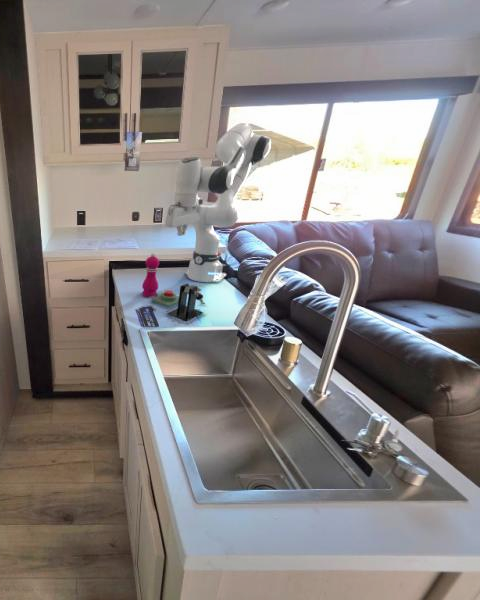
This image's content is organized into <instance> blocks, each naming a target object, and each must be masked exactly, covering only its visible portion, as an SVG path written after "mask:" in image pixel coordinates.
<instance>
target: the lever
mask: <svg viewBox="0 0 480 600" xmlns="http://www.w3.org/2000/svg"><path fill="white" fill-rule="evenodd" d="M189 289H190V287H187V286H186V287H185V289H184V292H185V293H187V295H189ZM203 298H204V294H203V293H202V292H199V293H197V296H196V301H201V299H202V300H203Z"/></svg>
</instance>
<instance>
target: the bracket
mask: <svg viewBox="0 0 480 600" xmlns="http://www.w3.org/2000/svg"><path fill="white" fill-rule="evenodd" d="M186 286H187V287H189V286H190V284H189V283H183V284H182V285H180V286H179V293H178V296H179V301H178V304H177V308H176V309H174V310H172V311H169V312H167V313H166V314H167V315H169V316H171V317H173V318H175V319H178V320H181V321H183V322H185V323H187V322H189V321H191V320H193V319H195V318H197V317H199V316H200V315H202V314H204V312H203V311H200V310H198V309H196V303H197V299H196V296H197V290H198V287H197V286H198V285H197V286H195V287H193V288H190V289H189V294H187V293H185V292H184V289H185V287H186ZM198 291H199V290H198Z"/></svg>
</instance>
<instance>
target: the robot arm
mask: <svg viewBox="0 0 480 600" xmlns="http://www.w3.org/2000/svg"><path fill="white" fill-rule="evenodd" d="M271 145H272V140H271V138H270V137H269V136H267V135H264V134H263V135H261V134H257V133H254V130H253V127H252V126H251V124H248V123H247V122H240V123H238V124H236V125H234V126H232V127H231V128H230V129H228V130H227V131H226V132H225V133H224V134H223V135H222V136H221V137H220V138H219V140H218V141H217V142H216V145H215V149H214V150H215V155H216V157H217V159H218V161H220V162H221V163H223V164H225V165H221V166H205V165H203V164H202V160H201V157H199V156H189V157H185V158H183V159H181V160H180V162H179V165H178V168H177V172H176V181H175V184H176V189H175V191H174V197H173V202H172V203H171V204H170V205H169V206H168V208H167V212H166V215H165V220H164V225H165V227H167V228H176V230H177V236H178V237H181V236H185V235H186V231H187V229H188V227H189V225H191V224H192V225H193V228H194V231H195V245H194V251H193V253H192V259H190V261H189V265H188V270H187V271H185V275H186V276H187V278H188V279H190V280H191V281H195V282H200V283H215V284H216V283H220V282H221V281H222V280H224V279H225V277H227V273H226V272H225V271H226V270H227V264H224V263H221V261H220V260H219V257H221V256H222V252H219V251H218V250H219V246H220V236H219V235H218V234H217V233H216V232H215V230H214V227H216V228H231V227H233V226H234V225H235V224H236V222H237V221H238V219H239V209H238V208H237V206H236V198H237V197H238V194H239V192H240V190H241V189H242V187H243V185H244V184H245V182H246V179H247V177H248V175H249V172H250V171H251V167H252V166H255V165H257V163H259V162H261V161H263V160H264V159H265V158H266V157H267V156H268V154H269V153H270V150H271ZM199 192H200V193H213V194H214V195H215V197H217V199H216V200H215V201H206V200H204V199H203V198H201V197H200V196H198V195H199Z"/></svg>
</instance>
